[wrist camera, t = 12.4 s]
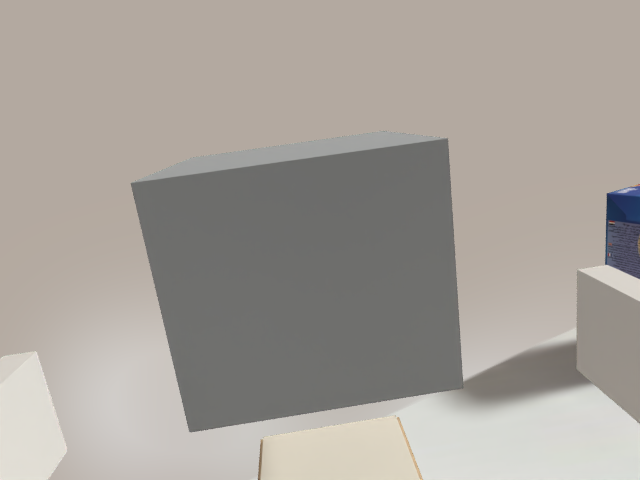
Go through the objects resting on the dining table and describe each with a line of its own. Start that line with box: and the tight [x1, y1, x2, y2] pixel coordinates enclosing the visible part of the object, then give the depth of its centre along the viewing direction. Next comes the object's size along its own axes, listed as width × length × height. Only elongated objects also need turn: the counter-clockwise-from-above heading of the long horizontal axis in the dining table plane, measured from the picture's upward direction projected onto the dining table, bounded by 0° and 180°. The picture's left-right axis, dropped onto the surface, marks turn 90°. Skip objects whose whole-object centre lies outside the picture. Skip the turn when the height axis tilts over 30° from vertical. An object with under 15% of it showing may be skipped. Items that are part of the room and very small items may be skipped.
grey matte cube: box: [131, 131, 463, 432], centre depth 21 cm, size 10×10×9 cm
